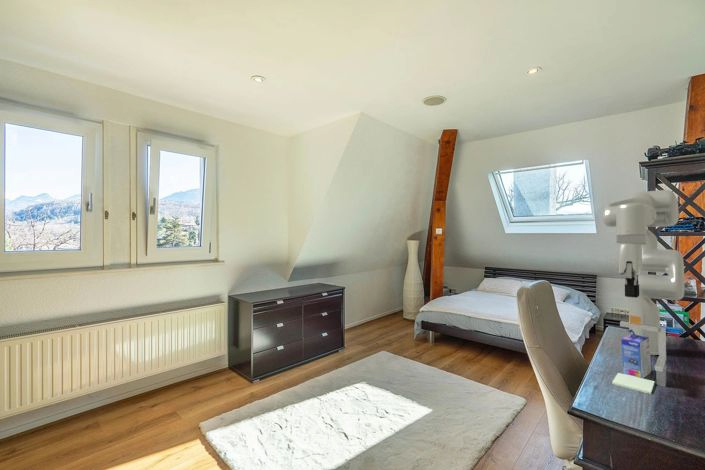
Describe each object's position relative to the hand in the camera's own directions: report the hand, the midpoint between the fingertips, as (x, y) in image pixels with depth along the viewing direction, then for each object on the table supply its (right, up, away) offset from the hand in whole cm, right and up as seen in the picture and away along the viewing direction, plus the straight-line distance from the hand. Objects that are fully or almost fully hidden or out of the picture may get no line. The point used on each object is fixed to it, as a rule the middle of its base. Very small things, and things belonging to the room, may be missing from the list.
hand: (632, 296), depth 106 cm
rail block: (+6, -27, -4) cm, 28 cm away
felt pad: (-3, -27, -4) cm, 28 cm away
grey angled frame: (+2, -21, -1) cm, 21 cm away
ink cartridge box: (+5, -28, +4) cm, 28 cm away
